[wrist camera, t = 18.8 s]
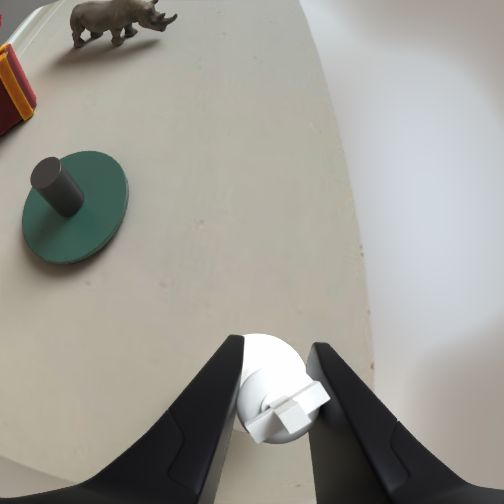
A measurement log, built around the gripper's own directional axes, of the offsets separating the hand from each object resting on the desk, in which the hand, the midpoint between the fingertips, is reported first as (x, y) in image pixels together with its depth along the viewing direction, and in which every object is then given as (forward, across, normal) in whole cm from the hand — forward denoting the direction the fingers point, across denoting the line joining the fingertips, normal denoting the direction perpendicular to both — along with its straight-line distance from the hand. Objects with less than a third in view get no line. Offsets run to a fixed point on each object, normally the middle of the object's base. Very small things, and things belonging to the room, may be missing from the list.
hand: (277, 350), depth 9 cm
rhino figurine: (+29, +18, -14) cm, 37 cm away
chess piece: (+4, 0, +6) cm, 7 cm away
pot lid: (+13, +14, +1) cm, 19 cm away
